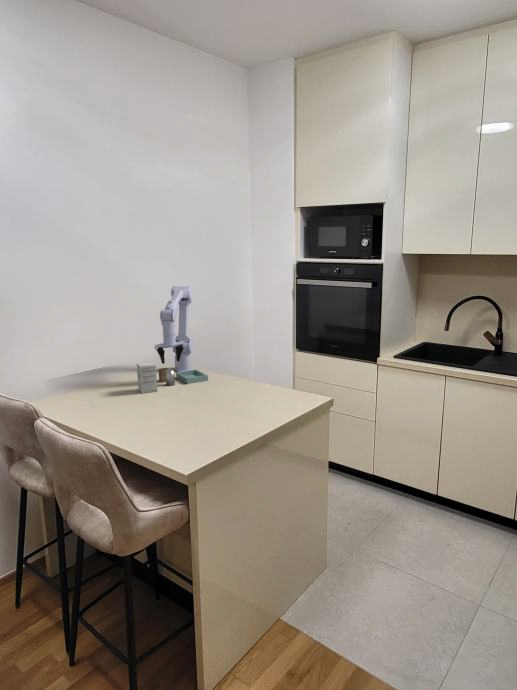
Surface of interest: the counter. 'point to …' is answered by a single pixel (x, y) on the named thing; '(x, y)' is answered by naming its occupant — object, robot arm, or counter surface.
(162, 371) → the walnut block
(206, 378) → the parts tray
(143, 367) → the supplement box
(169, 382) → the grey peg
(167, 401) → the counter surface
